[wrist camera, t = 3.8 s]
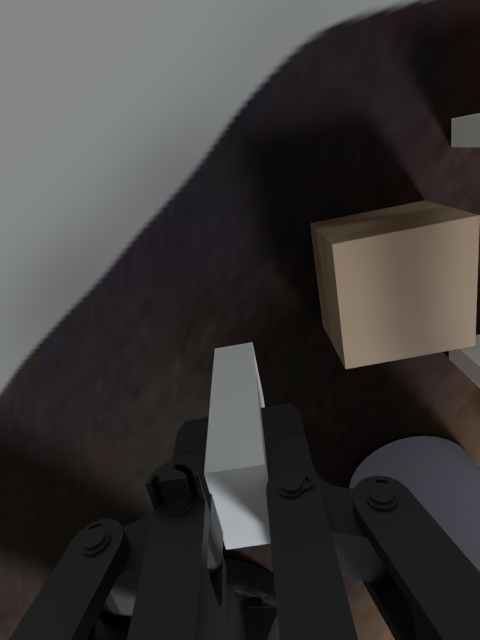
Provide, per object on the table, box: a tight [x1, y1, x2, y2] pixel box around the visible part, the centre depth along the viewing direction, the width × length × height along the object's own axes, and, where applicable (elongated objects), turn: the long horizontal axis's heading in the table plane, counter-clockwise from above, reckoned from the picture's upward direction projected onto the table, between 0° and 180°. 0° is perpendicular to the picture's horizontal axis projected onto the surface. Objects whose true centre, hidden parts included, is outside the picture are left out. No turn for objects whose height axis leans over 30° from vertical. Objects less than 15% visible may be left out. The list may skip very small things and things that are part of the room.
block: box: [310, 200, 480, 369], centre depth 24 cm, size 7×7×6 cm
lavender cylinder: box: [349, 436, 480, 572], centre depth 27 cm, size 10×10×15 cm
